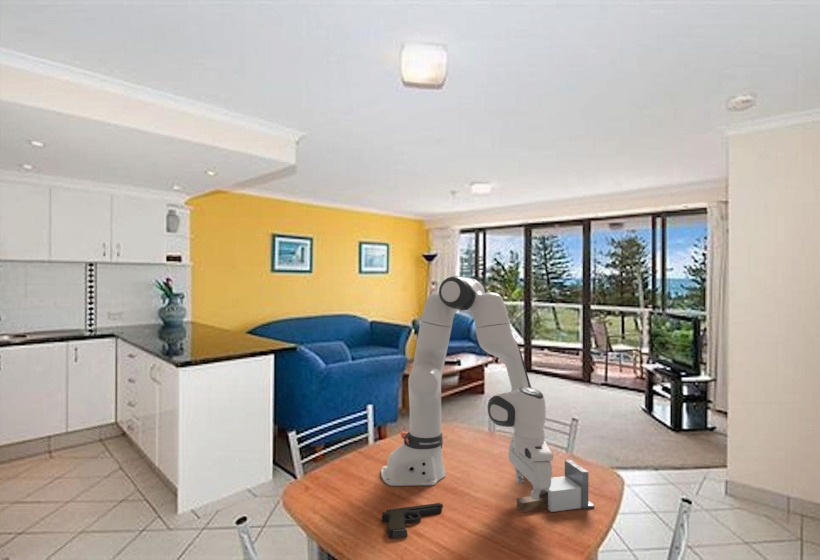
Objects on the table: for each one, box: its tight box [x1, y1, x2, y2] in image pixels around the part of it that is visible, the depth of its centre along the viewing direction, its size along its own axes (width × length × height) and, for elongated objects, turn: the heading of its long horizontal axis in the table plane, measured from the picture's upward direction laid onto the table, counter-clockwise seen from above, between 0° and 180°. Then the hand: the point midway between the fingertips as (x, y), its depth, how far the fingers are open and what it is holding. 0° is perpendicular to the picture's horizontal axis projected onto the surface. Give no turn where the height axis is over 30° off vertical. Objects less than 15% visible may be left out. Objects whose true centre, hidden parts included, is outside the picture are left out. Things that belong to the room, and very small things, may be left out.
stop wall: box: [564, 459, 595, 511], centre depth 133 cm, size 4×9×11 cm, turn 14°
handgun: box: [380, 502, 444, 540], centre depth 121 cm, size 3×19×12 cm
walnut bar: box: [516, 493, 548, 513], centre depth 130 cm, size 14×3×3 cm, turn 108°
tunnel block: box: [539, 475, 581, 513], centre depth 131 cm, size 10×8×6 cm
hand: (527, 490), depth 129 cm, fingers open, 8 cm apart
